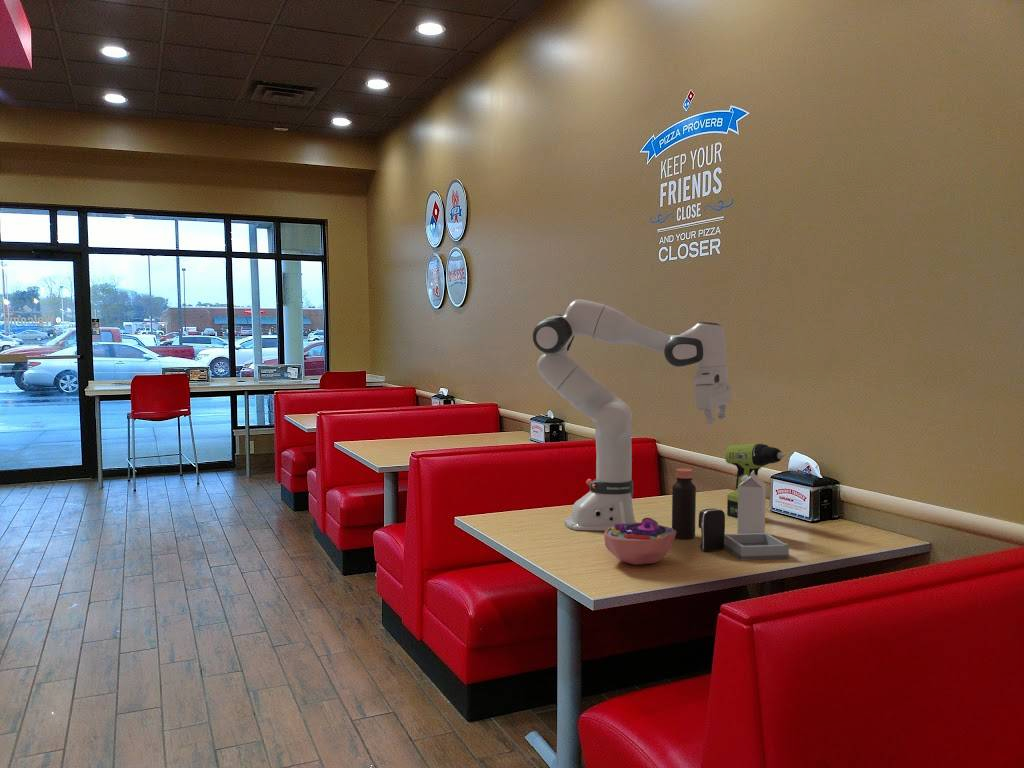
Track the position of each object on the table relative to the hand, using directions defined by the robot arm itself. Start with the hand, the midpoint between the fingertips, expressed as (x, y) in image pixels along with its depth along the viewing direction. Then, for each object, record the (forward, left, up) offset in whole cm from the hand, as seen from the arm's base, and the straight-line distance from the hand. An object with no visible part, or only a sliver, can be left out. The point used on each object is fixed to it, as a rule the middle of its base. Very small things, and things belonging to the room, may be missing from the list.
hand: (716, 421), depth 225 cm
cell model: (-31, -26, -34) cm, 53 cm away
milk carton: (+10, -3, -34) cm, 36 cm away
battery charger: (-8, -17, -34) cm, 39 cm away
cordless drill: (+19, +14, -34) cm, 41 cm away
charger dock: (+3, -21, -34) cm, 40 cm away
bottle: (-11, -3, -34) cm, 36 cm away
